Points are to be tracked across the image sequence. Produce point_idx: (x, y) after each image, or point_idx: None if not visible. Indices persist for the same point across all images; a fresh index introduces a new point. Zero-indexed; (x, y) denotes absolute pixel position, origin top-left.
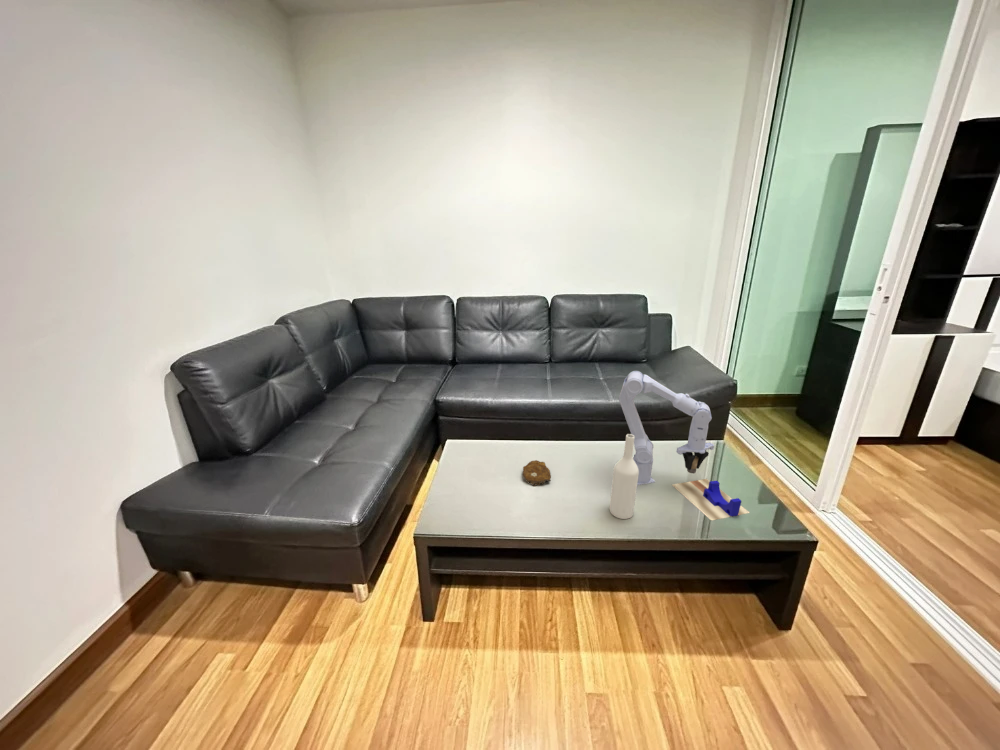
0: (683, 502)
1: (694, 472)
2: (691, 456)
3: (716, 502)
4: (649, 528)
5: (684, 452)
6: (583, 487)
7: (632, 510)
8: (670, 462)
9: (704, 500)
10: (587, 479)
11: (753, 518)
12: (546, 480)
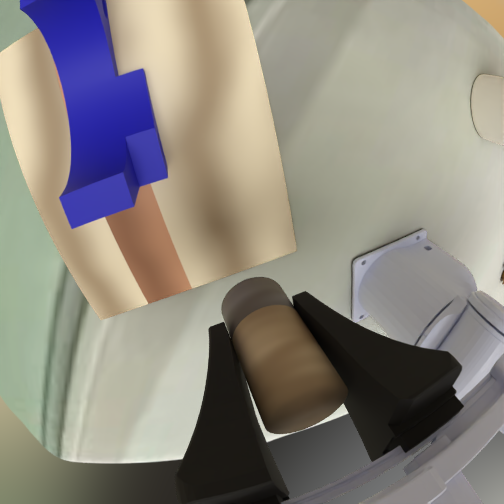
0: (304, 109)
1: (246, 285)
2: (448, 377)
3: (132, 71)
4: (454, 19)
5: (465, 400)
6: (497, 215)
7: (496, 79)
8: None
9: (180, 119)
10: (480, 248)
11: (2, 24)
12: None
